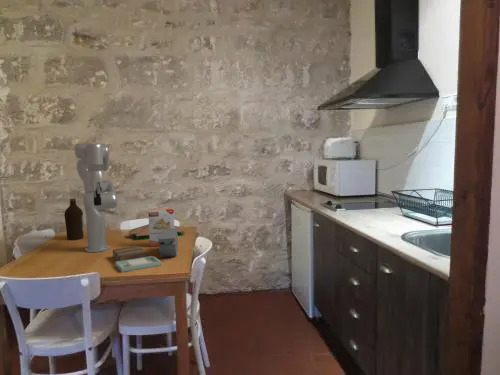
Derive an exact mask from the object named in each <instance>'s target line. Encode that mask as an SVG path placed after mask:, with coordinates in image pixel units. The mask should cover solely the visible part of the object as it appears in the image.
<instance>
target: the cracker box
mask: <svg viewBox="0 0 500 375" xmlns="http://www.w3.org/2000/svg"><path fill="white" fill-rule="evenodd" d="M174 210H175V208H174V207H164V208H163V207H161V208H149V209H148V224H149V237H148V239H149V247H151V248H152V247H159V244H160V242H159V240H158V239H159V237H160V235H161V232H162V230H163V229H171V228H174V226H175V211H174Z"/></svg>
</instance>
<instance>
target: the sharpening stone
mask: <svg viewBox="0 0 500 375" xmlns="http://www.w3.org/2000/svg"><path fill="white" fill-rule="evenodd" d="M158 240H159V242H160V244H159V246H158V251H159V255H160V257H161V258H170V257H171V258H173V257H178V256H177V255H178V250H179V249H178V248H179V247H178V246H179V243H178V242H179V234H178V228H171V229H163V230H162V232H161V235H160V237H159V239H158Z"/></svg>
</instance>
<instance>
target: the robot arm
mask: <svg viewBox="0 0 500 375" xmlns="http://www.w3.org/2000/svg"><path fill="white" fill-rule="evenodd" d="M74 156H75V157H76V159H78V160H77V162H76V171H77V174H78V176H79V178H80V179H81V181H82V183H83V190H84V193H85V194H84V195H83V199H82V201H83V202H82V203H83V207H84V211H85V219H86V234H87V235H86V236H87V246H86V247H85V248H84V251H85V252H87V253H97V252H98V253H99V252H103V251H104V252H105V251H107V250H109V249H110V245H109V244H107V232H106V231H107V230H106V219H105V218H106V217H105V215H104V214H103V212H101V211H102V210H108V209H115V208H116V207H117V206H118V196H117V192H116V188H115V187H116V186H115V184H114V182H113V181H111V180H107V179H106V180H103V173H102V172H106V171H108V169H109V167H110V166H109V165H110V149H109V146H108V145H107V144H105V143H100V142H97V143H95V142H94V143H93V142H91V143H90V142H89V143H87V142H85V143H84V142H83V143H75V146H74ZM100 210H101V211H100Z"/></svg>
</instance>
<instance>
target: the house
mask: <svg viewBox="0 0 500 375" xmlns="http://www.w3.org/2000/svg"><path fill="white" fill-rule="evenodd" d="M174 228H178V232H177V235H182V236H184V235H185V234H186V233H185V232H187V230H186V229H184V228H183V227H182V226H178V225H174ZM128 232H129V234H130V235H132V238H133V239H136V240H139V239H141V237H145V240H148V239H149V223H147V224H146V225H141V226H138V227H134V228H132V229H131V230H129V231H128Z"/></svg>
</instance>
